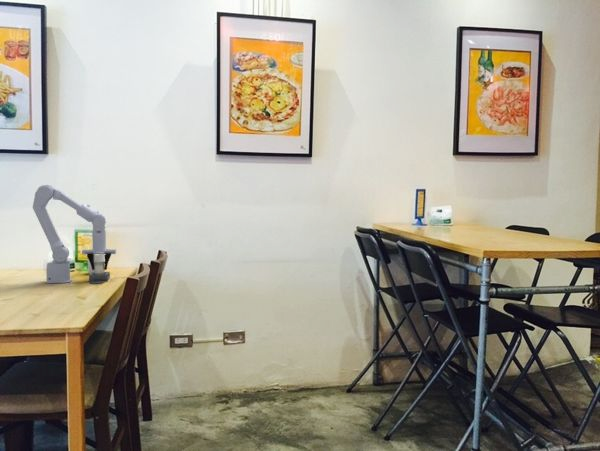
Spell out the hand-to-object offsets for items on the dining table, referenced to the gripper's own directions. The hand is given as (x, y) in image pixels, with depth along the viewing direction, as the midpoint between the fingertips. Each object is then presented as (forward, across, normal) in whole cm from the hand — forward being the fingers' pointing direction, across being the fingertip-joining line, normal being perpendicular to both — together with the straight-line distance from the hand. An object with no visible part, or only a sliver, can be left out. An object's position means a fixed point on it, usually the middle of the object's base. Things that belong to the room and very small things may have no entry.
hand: (99, 269), depth 235 cm
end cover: (+4, 0, 0) cm, 4 cm away
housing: (+5, 0, 0) cm, 5 cm away
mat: (+5, 0, -8) cm, 9 cm away
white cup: (+5, -4, +17) cm, 18 cm away
